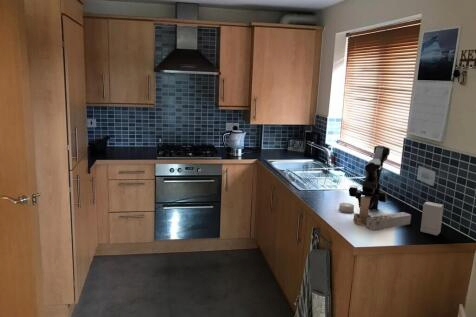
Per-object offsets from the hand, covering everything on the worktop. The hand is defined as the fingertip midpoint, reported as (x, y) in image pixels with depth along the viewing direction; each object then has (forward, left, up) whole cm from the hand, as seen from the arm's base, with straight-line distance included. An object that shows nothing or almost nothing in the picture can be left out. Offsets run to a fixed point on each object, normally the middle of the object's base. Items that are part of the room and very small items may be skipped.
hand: (364, 208), depth 211 cm
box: (-13, -1, -8) cm, 16 cm away
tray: (0, -1, -8) cm, 8 cm away
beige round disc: (+7, -18, -8) cm, 21 cm away
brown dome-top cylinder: (0, -1, -6) cm, 7 cm away
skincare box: (-32, +3, -8) cm, 34 cm away
